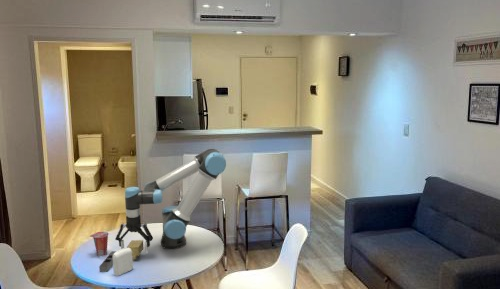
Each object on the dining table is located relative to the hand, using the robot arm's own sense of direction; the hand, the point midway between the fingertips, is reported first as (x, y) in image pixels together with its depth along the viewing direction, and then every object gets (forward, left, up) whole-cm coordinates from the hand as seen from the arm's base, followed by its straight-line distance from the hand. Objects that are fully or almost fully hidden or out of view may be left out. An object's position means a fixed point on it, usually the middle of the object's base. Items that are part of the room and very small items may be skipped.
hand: (134, 252), depth 226 cm
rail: (+12, +7, -4) cm, 14 cm away
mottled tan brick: (0, 0, -4) cm, 4 cm away
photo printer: (+1, +15, -4) cm, 16 cm away
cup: (+21, -4, -4) cm, 21 cm away
